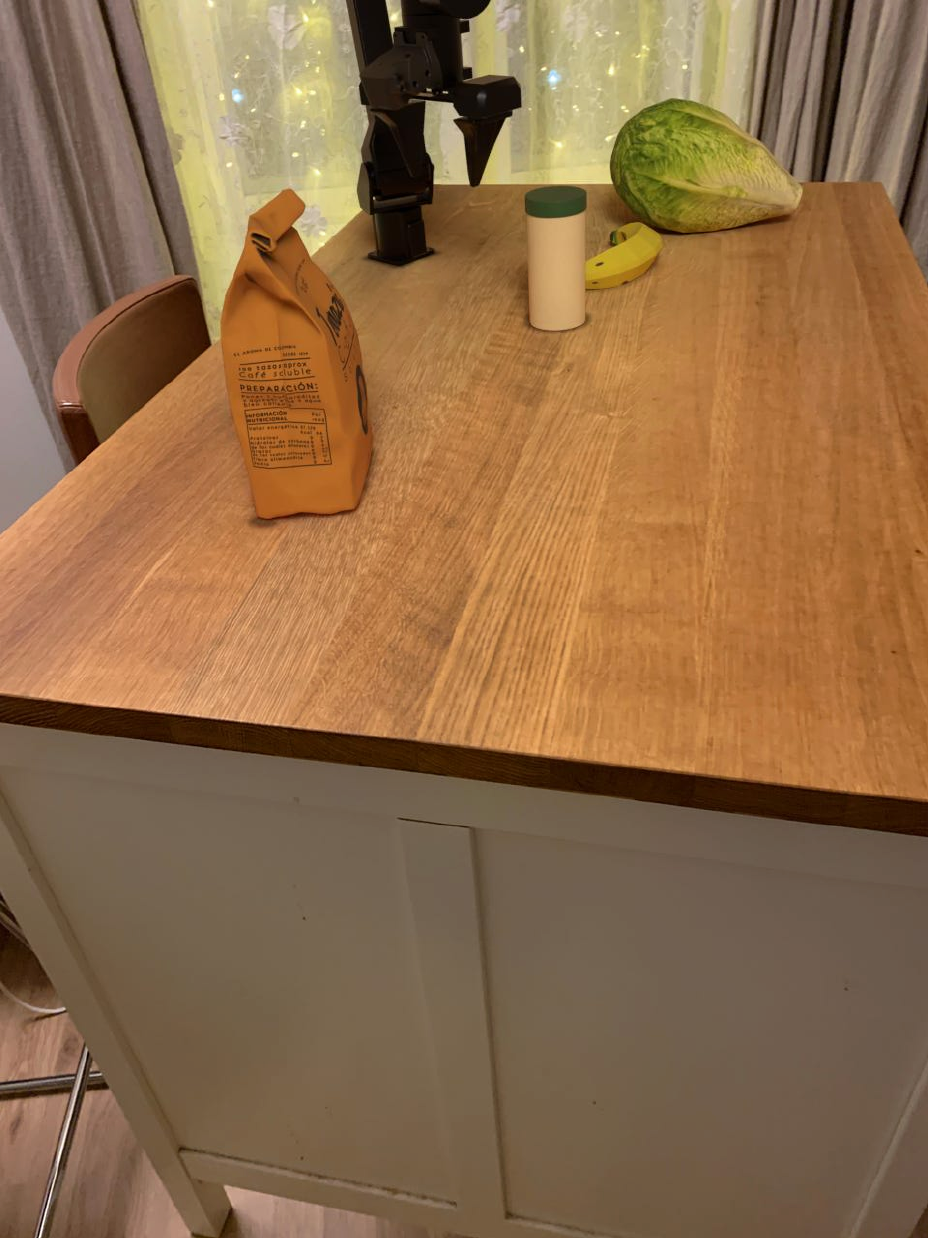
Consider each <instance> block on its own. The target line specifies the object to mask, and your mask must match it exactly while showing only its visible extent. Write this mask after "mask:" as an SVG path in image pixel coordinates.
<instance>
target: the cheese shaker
mask: <svg viewBox="0 0 928 1238" xmlns="http://www.w3.org/2000/svg"><path fill="white" fill-rule="evenodd" d="M587 195H588V193H587V191H586V189H584V188H583V187H579V186H574V185H550V186H549V185H548V186H543V187H537V188H534V189H531V190H529V191H527V192H526V193H525V194H524V213H525V218H526V221H525V222H526V225H525V226H526V251H527V252H526V253H527V279H528V281H527V283H528V284H527V285H528V311H529V314H528V315H529V324H530V325H531V326H533V327H534V328H536V329H537V330H543V331H548V332H549V331H550V332H552V331H553V332H555V331H556V332H557V331H559V332H560V331H567V330H571V329H575V328H577V327H580V326H582V325H583V324H584V323H585V322H586V289H585V261H586V236H587V235H586V230H587V229H586V228H587V227H586V225H587V224H586V223H587V222H586V218H587V217H586V216H587V215H586V214H587V213H586V212H587V211H586V210H587V200H588V199H587V197H588V196H587Z"/></svg>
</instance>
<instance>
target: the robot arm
mask: <svg viewBox="0 0 928 1238" xmlns="http://www.w3.org/2000/svg"><path fill="white" fill-rule="evenodd" d="M491 1H492V0H400V9H401V10H400V11H401V20H402V22H401V23H402V25H398V26H394V28H393V33H392V29H391V28H392V27H391V21H390V17H389V11H388V6H387V0H345V3H346V4H345V5H346V10H347V15H348V19H349V24H350V31H351V35H352V41H353V47H354V51H355V56H356V62H357V67H358V73H359V75H358V77H359V79H360V82H359V85H358V92H359V100H360V106H365V111H366V115H367V122H368V126H367V129H366V132H365V134H364V135H365V136H364V139H363V142H362V144H361V147H360V155H361V163H360V166H359V167H360V168H359V172H358V178H357V185H356V195H357V201H358V205H359V208H360V209H361V210H362V211H363V212H365V213H366V214H367V215H368V216H372V225H373V233H374V240H375V241H374V243H375V250H372V251H370V252H368V253H367V257H368V258H369V259H373V260H376V261H380V262H384V263H388V264H392V265H396V266H402V265H405V264H408V263H410V262H413V261H415V260H418V259H421V258H425V257H427V256H429V255H432V254H434V253H435V251H436V249H435V248H434V247H431V246H427V235H426V228H425V227H426V226H425V220H424V219H423V218H424V217H423V210H422V209H423V207H422V206H432V205H433V203H434V202H433V200H434V188H435V187H434V185H435V168H436V167H435V164H434V163H433V161H432V158H431V156H430V154H429V152H428V151H427V146H426V140H425V121H426V105H427V104H426V103H427V101H428V102H435V103H447V104H452V107H453V108H454V110H455V111H456V113H457V114H458V116H459V117H456V118H454V119H452V121H453V123H454V125H455V126H456V127H457V128H458V129H459V131H460V132H461V133H462V136H463V144H464V153H465V160H466V161H465V162H466V172H467V179H468V182H469V187H471V188H476V187H479V186H480V184H481V182H482V179H483V176H484V174H485V170H486V168H487V165H488V162H489V160H490V157H491V154H492V151H493V148H494V146H495V144H496V141H497V139H498V137H499V134H500V133H501V130H502V127H503V126H504V123H505V122H506V119H507V118H508V119H509V118H512V117H513V115H514V110H517V109H521V108H522V107H523V105H522V103H523V101H522V85H521V84H520V82H519V81H518V80H517V79H516V77H515V76H513V75H500V74H498V75H497V74H487V75H483V76H479V77H475V78H474V76H473V66H464V53H463V40H462V39H463V38H462V34H465V33H470V32H471V28H470V27H471V26H470V20H471V19H474V18H476V17H479V16H480V15H481V14H482V13H483V12H485V10H486V9H487V8H488V7H489V5H490V3H491Z"/></svg>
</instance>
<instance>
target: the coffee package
mask: <svg viewBox="0 0 928 1238" xmlns="http://www.w3.org/2000/svg"><path fill="white" fill-rule="evenodd" d="M305 210H306V203H305V202H304V200H303V199H302V198H301V197H300V196H299V195H298V194H297V192H295V191H294V190H293V189H292V188H285V189H282V190H281V191H280V193H278V194H277V195H276V196H275V197H274V198H272V199H271V200H269V201H268V202H267V203H265V204H264V205H263V206H262V207H260V209H258V210H257V211H256V212H254V213H252V214H249V217H248V220H247V231H246V235H245V239H244V246H243V249H242V252H241V254H240V257H239V258H238V259H239V260H238V262H237V264H236V266H235V270H234V272H233V275H232V279H231V280H230V284H229V285H228V288H227V290H226V293H225V296H224V301H223V305H222V311H221V317H220V321H219V322H220V324H219V325H220V340H221V341H220V342H221V352H222V361H223V369H224V377H225V381H226V382H225V383H226V389H227V394H228V400H229V407H230V413H231V418H232V421H233V424H234V425H233V426H234V428H235V431H236V434H237V438H238V441H239V445H240V451H241V454H242V458H243V462H244V465H245V469H246V471H247V474H248V475H247V476H248V480H249V483H250V488H251V494H252V497H253V503H254V509H255V514H256V516H257V517H259V518H261V519H265V520H271V519H274V518H280V517H286V516H290V515H295V514H299V513H310V514H321V515H332V514H336V513H339V512H343V511H350V510H354V509H356V508H357V506H358V504H359V502H360V500H361V497H362V494H363V490H364V487H365V483H366V480H367V476H368V472H369V468H370V462H371V456H372V452H373V445H374V434H373V430H372V425H371V421H370V420H371V419H370V412H369V411H370V410H369V399H368V388H367V387H368V386H367V382H366V381H367V380H366V377H365V373H364V371H365V370H364V365H363V356H362V351H361V350H362V349H361V345H360V340H359V334H358V331H357V328H356V327H355V323H354V321H353V318H352V315H351V313H350V310H349V307H348V305H347V304H346V301H345V299H344V297H343V296H342V295H341V293H340V292H339V291H338V289H337V288H336V286H335V284H334V283H333V282H332V281H331V280H330V279H329V277H328V276H327V275H326V273H325V272H324V271H323V270H322V269H321V268H320V267H319V265H317V264H316V263H315V261H313V259H312V258H311V256H310V253H309V251H308V249H307V247H306V245H305V243H304V241H303V239H302V238H301V235H300V234H299V231H298V230H297V228H295V227H293V225H295V223H296V222H297V221H298V220H299V219H300V218H301V217H302V216H303V214H304V212H305Z"/></svg>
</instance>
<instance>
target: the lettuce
mask: <svg viewBox="0 0 928 1238" xmlns="http://www.w3.org/2000/svg"><path fill="white" fill-rule="evenodd" d="M609 174H610V180H611V183H612V185H613V188H614V190H615V193H616V194H617V196H618V197H619V198H620V199H621V201H622V202H623V203H624V204H625V205H626V207H627V208H628V209H629V211H630V212H631V213H632V214H633V215H634V216H636V217H637V218H639V219H641V220H642V221H644V222H646V223H647V224H649V225H651V226H654V227H658V228H661V229H665V230H668V231H674V232H677V233H683V234H686V233H689V234H690V233H707V232H715V231H720V230H725V229H732V228H736V227H740V226H745V225H748V224H752V223H754V222H760V221H763V220H767V219H771V218H777V217H780V216H786V215H792V214H793V213H794V212H795V211H796V210H797V208H798V207H799V205H801V203H802V198H803V192H804V187H803V186H802V184H800V183H799V181H797V179H796V178H795V177H794V176H793V175H791V173H790V172H788V171H787V170H786V168H785V167H784V166H783V165H782V163H781V162H780V161H779V160H778V159H777V158H776V156H775V155H773V153H772V152H771V151H770V150H769V148H768V147H767V146H766V145H765V144H764V143H763V142H762V141H761V140H759V139H757V138H756V137H755V136H753V135H752V134H751V133H749V132H747V130H745V129H744V128H742V127H741V126H740V125H739V124H738V123H736V122H735V121H734V120H733V119H732V118H731V117H730V116H728V115H727V114H726V113H724V112H722V111H721V110H720V111H719V110H717V109H715V108H713V107H711V106H707V105H705V104H702V103H699V102H696V101H695V100H691V99H690V100H689V99H683V98H675V97H671V98H668V99H665V100H663V101H660V102H657V103H655V104H652V105H649V106H647V107H644V108H642V109H641V110H640V111H638V112H637V113H636V114H634V115H633V116H632V117H631V118H629V119H628V120H626V121H625V122H624V124H623V126H622V127H621V128H620V130H619V132H618V133H617V135H616V137H615V141H614V144H613V147H612V150H611V154H610V160H609Z"/></svg>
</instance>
